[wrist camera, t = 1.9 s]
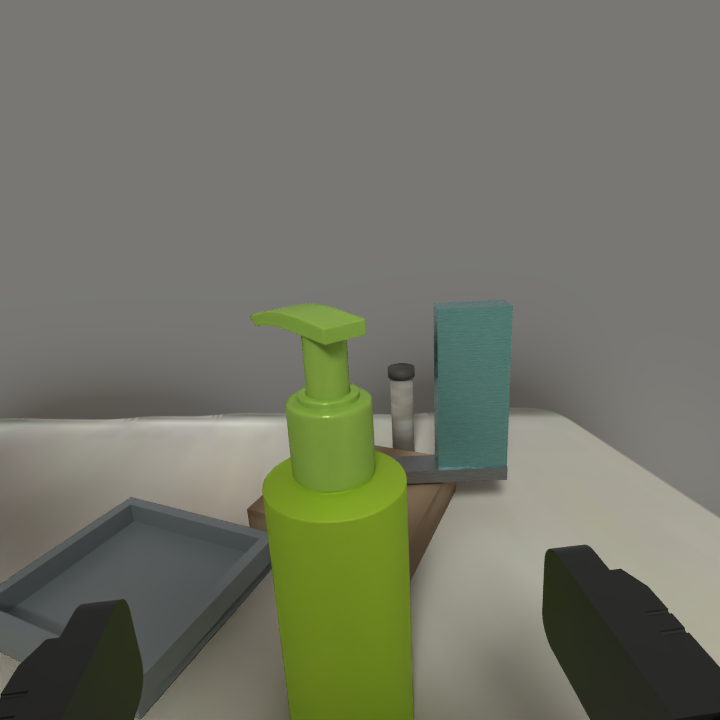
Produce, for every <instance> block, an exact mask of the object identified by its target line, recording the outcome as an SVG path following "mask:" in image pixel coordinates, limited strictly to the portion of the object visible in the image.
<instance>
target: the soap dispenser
mask: <svg viewBox="0 0 720 720" xmlns="http://www.w3.org/2000/svg"><path fill="white" fill-rule="evenodd" d="M250 317H251V319H252V321H253V323H254V324H255V326H261V325H270V326H276V327H280V328H283V329H285V330H288V331H291V332H293V333H296V334H299V335H301V339H302V351H303V361H304V372H305V384H306V386H305V387H303V388H302V389H300V390H299V391H298V392H297V393H295V394H293V395H292V396H290V398H289V399H288V400H287V402H286V417H287V426H288V436H289V446H290V456H291V458H289V459H287V460H285V461H283V462H282V463H280V464H279V465H277V466H276V467H275V468H274V469H273V470H272V471H271V472H270V473H269V474H268V475H267V477H266V479H265V481H264V483H263V489H262V492H263V501H264V509H265V517H266V525H267V533H268V541H269V549H270V557H271V565H272V573H273V581H274V589H275V597H276V605H277V613H278V621H279V629H280V638H281V646H282V654H283V662H284V670H285V678H286V686H287V694H288V702H289V710H290V718H291V720H414V716H413V680H412V645H411V610H410V574H409V539H408V504H407V477H406V473H405V471H404V469H403V467H402V466H401V465H400V464H399V463H398V462H397V461H396V460H395V459H393V458H392V457H390V456H388V455H386V454H384V453H382V452H379V451H376V450H375V448H374V427H373V407H372V398H371V395H370V394H369V393H368V392H367V391H366V390H364V389H362V388H360V387H357V386H356V385H354V384H352V383H349V369H348V368H349V367H348V351H347V339H350V338H354V337H357V336H362V335H365V334H366V320H365V319H364V318H361V317H359V316H356V315H353V314H351V313H348V312H345V311H342V310H339V309H336V308H333V307H329V306H325V305H320V304H300V305H294V306H289V307H284V308H280V309H275V310H269V311H265V312H260V313H256V314H253V315H251V316H250Z"/></svg>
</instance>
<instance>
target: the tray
mask: <svg viewBox="0 0 720 720" xmlns="http://www.w3.org/2000/svg"><path fill="white" fill-rule="evenodd" d="M271 569H272V565H271V557H270V549H269V541H268V533H267V532H266V531H262V530H258V529H254V528H250V527H246V526H242V525H238V524H234V523H231V522H227V521H223V520H219V519H215V518H211V517H207V516H203V515H199V514H195V513H191V512H187V511H183V510H179V509H176V508H172V507H168V506H164V505H160V504H156V503H152V502H148V501H144V500H140V499H136V498H132V497H130V498H129V499H127V500H126V501H124V502H123V503H121V504H120V505H118V506H117V507H115V508H114V509H112V510H111V511H109V512H108V513H106V514H105V515H103V516H102V517H100V518H99V519H97V520H96V521H94V522H93V523H91V524H90V525H88V526H87V527H85V528H84V529H82V530H81V531H79V532H78V533H76V534H75V535H73V536H72V537H70V538H69V539H67V540H66V541H64V542H63V543H61V544H60V545H58V546H57V547H55V548H54V549H52V550H51V551H49V552H48V553H46V554H45V555H43V556H42V557H40V558H39V559H37V560H36V561H34V562H33V563H31V564H30V565H28V566H27V567H25V568H24V569H22V570H21V571H19V572H18V573H16V574H15V575H13V576H12V577H10V578H9V579H7V580H6V581H4V582H3V583H1V584H0V652H2V653H4V654H6V655H8V656H10V657H12V658H14V659H17V660H19V661H21V662H23V661H24V660H25V659H26V658H27V657H28V656H29V655H30V654H31V653H32V652H33V651H34V650H35V649H36V648H37V647H39V646H40V645H41V644H42V643H43V642H44V641H45V640H46V639H51V638H59V637H60V635H61V634H62V632H63V630H64V628H65V627H66V625H67V623H68V621H69V620H70V618H71V616H72V614H73V613H74V611H75V609H76V608H77V607H78V606H79V605H81V604H86V603H94V602H102V601H111V600H119V599H124V600H126V602H127V603H128V605H129V608H130V612H131V617H132V621H133V625H134V629H135V634H136V638H137V642H138V646H139V650H140V655H141V659H142V664H143V688H142V694H141V699H140V703H139V706H138V709H137V712H136V715H135V717H136V718H138V719H141V718H142V717H143V716H144V715H145V714H146V712H147V711H148V710H149V709H150V708H151V707H152V705H153V704H154V703H155V702H156V701H157V700H158V699H159V697H160V696H161V695H162V694H163V693H164V692H165V691H166V689H167V688H168V687H169V686H170V685H171V684H172V682H173V681H174V680H175V679H176V678H177V677H178V676H179V674H180V673H181V672H182V671H183V670H184V669H185V668H186V666H187V665H188V664H189V663H190V662H191V661H192V659H193V658H194V657H195V656H196V655H197V654H198V653H199V651H200V650H201V649H202V648H203V647H204V646H205V645H206V643H207V642H208V641H209V640H210V639H211V638H212V636H213V635H214V634H215V633H216V632H217V631H218V630H219V628H220V627H221V626H222V625H223V624H224V623H225V622H226V620H227V619H228V618H229V617H230V616H231V615H232V613H233V612H234V611H235V610H236V609H237V608H238V607H239V605H240V604H241V603H242V602H243V601H244V600H245V599H246V597H247V596H248V595H249V594H250V593H251V592H252V591H253V589H254V588H255V587H256V586H257V585H258V584H259V582H260V581H261V580H262V579H263V578H264V577H265V576H266V574H267V573H268V572H269V571H270V570H271Z"/></svg>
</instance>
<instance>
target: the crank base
mask: <svg viewBox="0 0 720 720" xmlns="http://www.w3.org/2000/svg"><path fill="white" fill-rule="evenodd" d="M414 376H415V373H414V366H413V365H411V364H406V363H399V364H393V365H390V366H389V367H388V377H389V378H390V380H391V408H392V436H393V448H387V447H381V446H375V445H374V448H375V450H376V451H379V452H382V453H384V454H386V455H388V456H390V457H397V456H420V455H431V454H425V453H418V452H414V425H413V384H412V383H413V382H412V378H413V377H414ZM454 492H455V482H438V483H414V484H407V504H408V539H409V574H410V580H411V578H412V576H413V574H414V572H415V570H416V568H417V566H418V564H419V562H420V560H421V558H422V556H423V554H424V552H425V550H426V548H427V546H428V544H429V542H430V540H431V538H432V536H433V534H434V532H435V530H436V528H437V526H438V524H439V522H440V520H441V518H442V516H443V514H444V512H445V510H446V508H447V506H448V504H449V502H450V500H451V498H452V496H453V494H454ZM247 511H248V519H249V526H250V528H254V529H258V530H262V531H266V532H267V525H266V517H265V509H264V501H263V495H262V496H261V497H260V498H259V499H258V500H257V501H256V502H255V503H254V504H252V505H251V506H250V507H249V508H248V509H247Z"/></svg>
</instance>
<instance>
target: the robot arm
mask: <svg viewBox="0 0 720 720" xmlns="http://www.w3.org/2000/svg"><path fill="white" fill-rule="evenodd" d="M542 616H543V624H544V629H545V633H546V636H547V639H548V642H549V644H550V647H551V649H552V651H553V652H554V654H555V656H556V658H557V660H558V662H559V663H560V665H561V667H562V669H563V671H564V673H565V674H566V676H567V678H568V680H569V682H570V683H571V685H572V687H573V689H574V691H575V693H576V694H577V696H578V698H579V700H580V702H581V704H582V705H583V707H584V709H585V711H586V713H587V715H588V716H589V718H590V720H720V667H719V666H718V665H717V664H716V662H715V661H714V660H713V659H712V658H711V657H710V656H709V655H708V653H707V652H706V651H705V650H704V649H703V648H702V647H701V646H700V644H699V643H698V642H697V641H696V640H695V639H694V638H693V637H692V635H691V634H690V633H686V631H685V628H684V626H683V625H682V624H681V623H680V622H679V621H678V620H677V619H676V617H675V616H674V615H673V614H672V613H669V612H668V608H667V607H666V606H665V605H664V604H663V603H662V602H661V600H660V599H659V598H658V597H657V596H656V595H655V594H654V593H653V591H652V590H651V589H650V588H649V587H648V586H647V585H645V584H643V583H642V582H640V581H639V580H637V579H636V578H634V577H633V576H631V575H630V574H628V573H627V572H625V571H623V570H622V569H616V570H609V569H608V567H607V566H606V565H605V564H604V563H603V561H602V560H601V559H600V558H599V556H598V555H597V554H596V553H595V552H594V550H593V549H592V548H591V547H589V546H588V545H578V546H569V547H561V548H553V549H548V550H547V551H546V554H545V562H544V585H543V607H542ZM142 688H143V664H142V659H141V655H140V650H139V646H138V642H137V638H136V634H135V629H134V625H133V621H132V617H131V612H130V608H129V605H128V603H127V602H126V600H124V599H119V600H111V601H102V602H94V603H86V604H81V605H79V606H78V607H77V608H76V609H75V611H74V613H73V614H72V616H71V618H70V620H69V621H68V623H67V625H66V627H65V628H64V630H63V632H62V634H61V635H60V637H59V638H51V639H46V640H45V641H44V642H43V643H42V644H41V645H40V646H39V647H37V648H36V649H35V650H34V651H33V652H32V653H31V654H30V655H29V656H28V657H27V658H26V659H25V660H24V661H23V662H22V663H21V664H20V665H19V666H18V667H17V669H16V671H15V672H14V674H13V675H12V677H11V679H10V680H9V682H8V684H7V685H6V687H5V688H4V690H3V692H2V693H1V698H0V720H134V718H135V715H136V712H137V709H138V706H139V703H140V699H141V694H142Z"/></svg>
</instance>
